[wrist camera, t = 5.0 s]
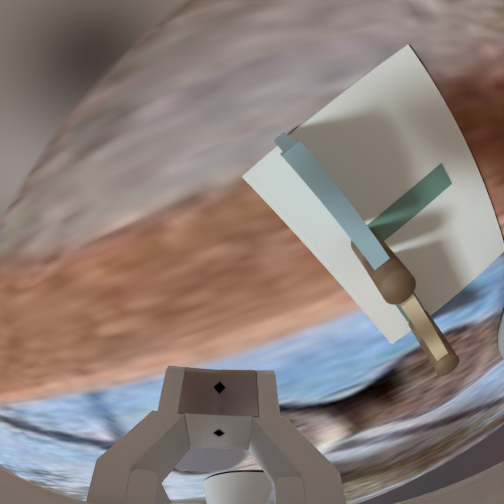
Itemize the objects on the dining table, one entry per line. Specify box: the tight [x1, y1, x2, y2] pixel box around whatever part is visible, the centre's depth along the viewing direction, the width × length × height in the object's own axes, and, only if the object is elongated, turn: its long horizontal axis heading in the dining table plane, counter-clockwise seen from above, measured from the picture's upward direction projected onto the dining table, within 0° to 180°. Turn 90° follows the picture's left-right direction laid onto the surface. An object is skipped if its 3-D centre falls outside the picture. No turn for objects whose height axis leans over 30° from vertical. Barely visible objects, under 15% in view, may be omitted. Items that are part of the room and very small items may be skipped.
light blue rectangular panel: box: [274, 132, 390, 270], centre depth 18 cm, size 8×1×5 cm, turn 42°
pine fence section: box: [351, 229, 459, 376], centre depth 22 cm, size 13×2×7 cm, turn 42°
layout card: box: [242, 45, 504, 344], centre depth 22 cm, size 21×15×1 cm
